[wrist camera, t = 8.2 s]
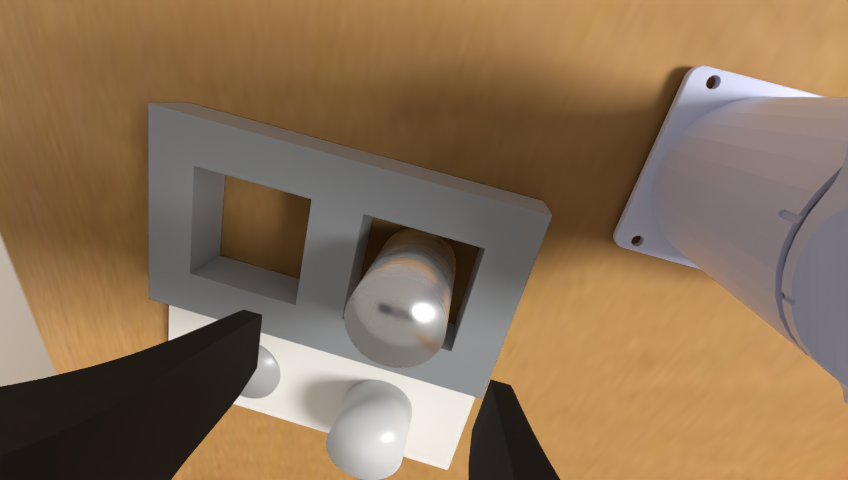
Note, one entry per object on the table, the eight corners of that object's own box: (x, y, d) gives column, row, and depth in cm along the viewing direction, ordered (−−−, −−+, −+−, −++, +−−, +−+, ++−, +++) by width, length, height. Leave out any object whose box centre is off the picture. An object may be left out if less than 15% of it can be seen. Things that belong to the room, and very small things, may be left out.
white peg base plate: (476, 381, 23) (475, 436, 19) (449, 456, 25) (443, 518, 22) (181, 293, 24) (125, 330, 20) (179, 373, 26) (128, 419, 22)
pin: (462, 235, 20) (454, 289, 15) (449, 304, 22) (437, 377, 16) (385, 221, 21) (348, 268, 15) (376, 290, 22) (340, 356, 17)
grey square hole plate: (544, 201, 19) (552, 216, 17) (481, 367, 23) (481, 398, 20) (187, 102, 20) (148, 103, 18) (181, 278, 24) (148, 298, 21)
